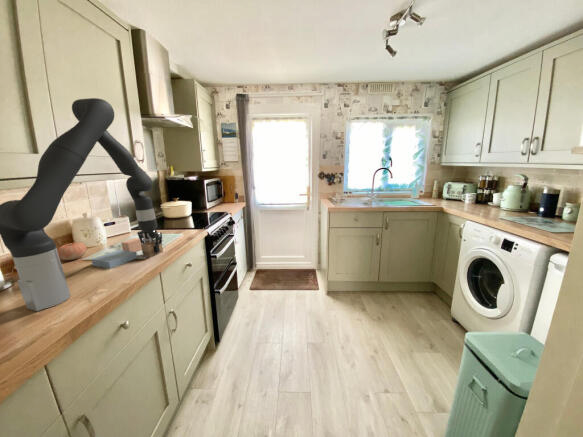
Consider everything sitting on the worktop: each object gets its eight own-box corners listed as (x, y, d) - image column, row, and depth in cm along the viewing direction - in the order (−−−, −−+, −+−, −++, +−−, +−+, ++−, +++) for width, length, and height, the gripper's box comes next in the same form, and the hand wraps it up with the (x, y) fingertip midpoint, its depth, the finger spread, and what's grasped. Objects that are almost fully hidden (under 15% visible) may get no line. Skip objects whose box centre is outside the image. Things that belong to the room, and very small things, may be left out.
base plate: (110, 268, 98) (109, 262, 97) (92, 265, 102) (91, 259, 102) (137, 257, 109) (136, 251, 108) (120, 255, 113) (119, 249, 113)
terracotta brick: (130, 254, 114) (127, 243, 113) (123, 253, 116) (121, 242, 115) (143, 249, 121) (141, 238, 119) (136, 248, 122) (134, 238, 121)
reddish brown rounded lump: (52, 262, 109) (48, 246, 107) (79, 253, 119) (75, 239, 117) (68, 264, 105) (63, 247, 104) (93, 255, 116) (89, 240, 114)
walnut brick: (150, 257, 109) (148, 245, 108) (143, 256, 111) (140, 244, 110) (163, 251, 116) (161, 240, 114) (156, 250, 118) (153, 239, 116)
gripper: (128, 219, 109) (135, 253, 112) (150, 221, 103) (157, 256, 107) (143, 216, 115) (149, 248, 119) (164, 217, 110) (170, 250, 114)
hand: (153, 251), depth 113 cm, fingers closed on walnut brick, 5 cm apart
